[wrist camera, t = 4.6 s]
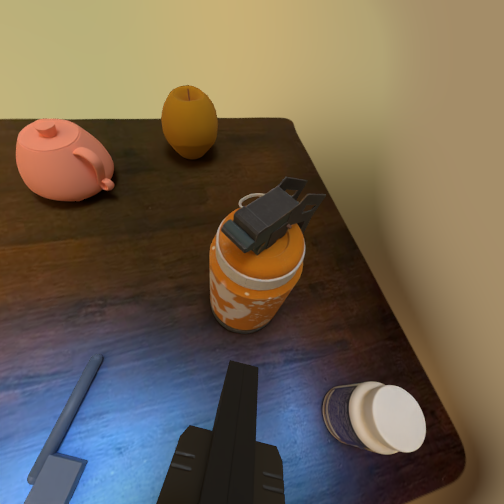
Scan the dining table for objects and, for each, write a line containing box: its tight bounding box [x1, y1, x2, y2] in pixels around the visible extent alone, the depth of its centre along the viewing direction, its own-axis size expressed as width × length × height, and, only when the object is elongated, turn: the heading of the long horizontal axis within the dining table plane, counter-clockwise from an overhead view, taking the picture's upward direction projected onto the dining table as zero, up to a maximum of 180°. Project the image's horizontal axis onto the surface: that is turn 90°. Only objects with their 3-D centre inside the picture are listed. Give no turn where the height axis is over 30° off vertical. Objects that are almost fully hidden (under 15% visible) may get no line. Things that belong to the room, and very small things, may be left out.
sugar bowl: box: [16, 119, 114, 201], centre depth 37 cm, size 12×14×10 cm
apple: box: [161, 85, 218, 159], centre depth 44 cm, size 10×10×12 cm
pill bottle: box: [323, 381, 426, 454], centre depth 25 cm, size 6×6×10 cm
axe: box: [24, 354, 102, 504], centre depth 25 cm, size 13×4×1 cm, turn 168°
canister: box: [210, 177, 326, 334], centre depth 26 cm, size 9×11×20 cm
